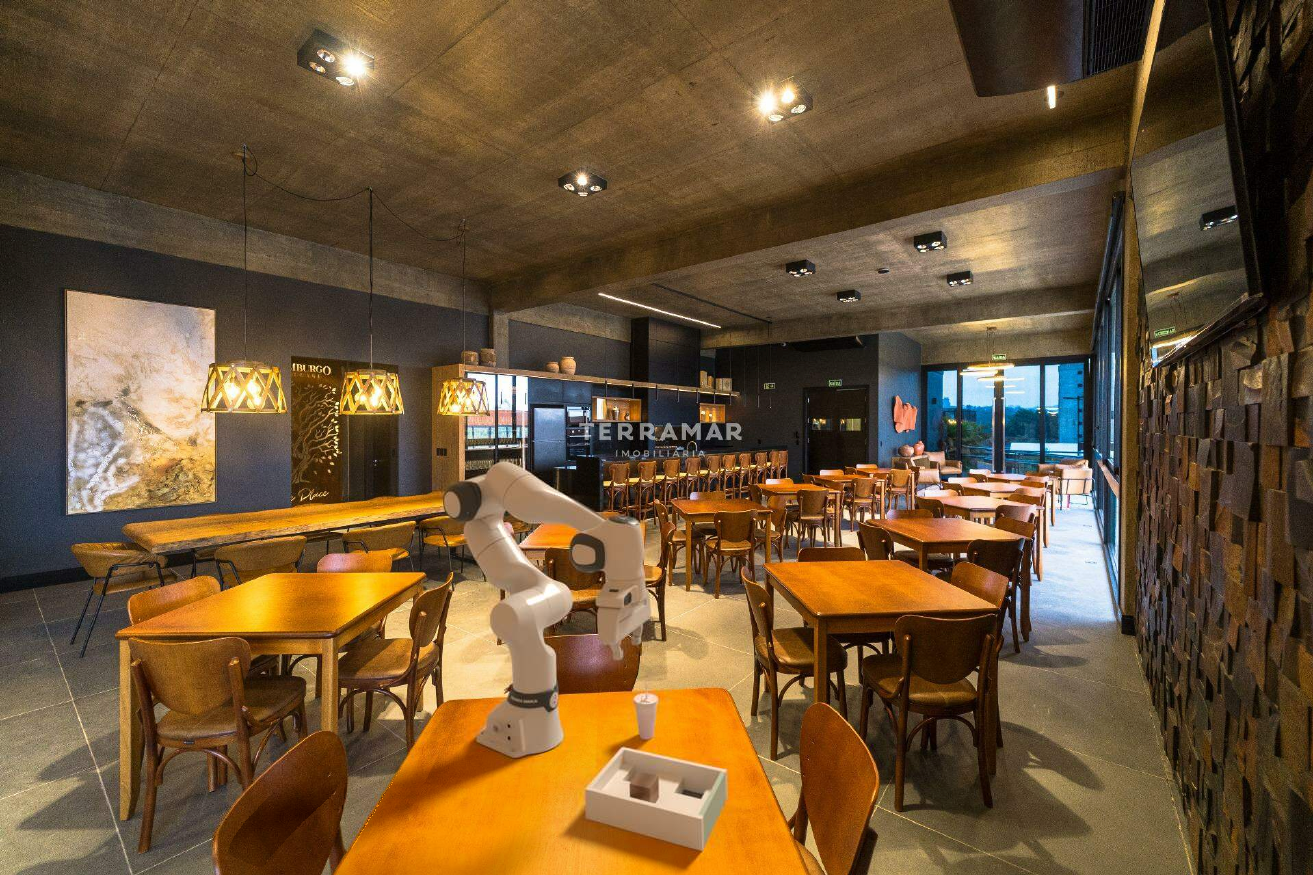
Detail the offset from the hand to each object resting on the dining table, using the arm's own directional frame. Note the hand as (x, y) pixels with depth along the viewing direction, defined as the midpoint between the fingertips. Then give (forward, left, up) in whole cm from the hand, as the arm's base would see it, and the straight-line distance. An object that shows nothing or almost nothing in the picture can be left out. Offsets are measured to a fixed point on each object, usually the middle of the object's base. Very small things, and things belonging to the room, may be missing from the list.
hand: (627, 651), depth 127 cm
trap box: (+9, -5, -30) cm, 32 cm away
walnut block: (+7, -8, -27) cm, 29 cm away
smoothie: (-5, +21, -30) cm, 37 cm away
